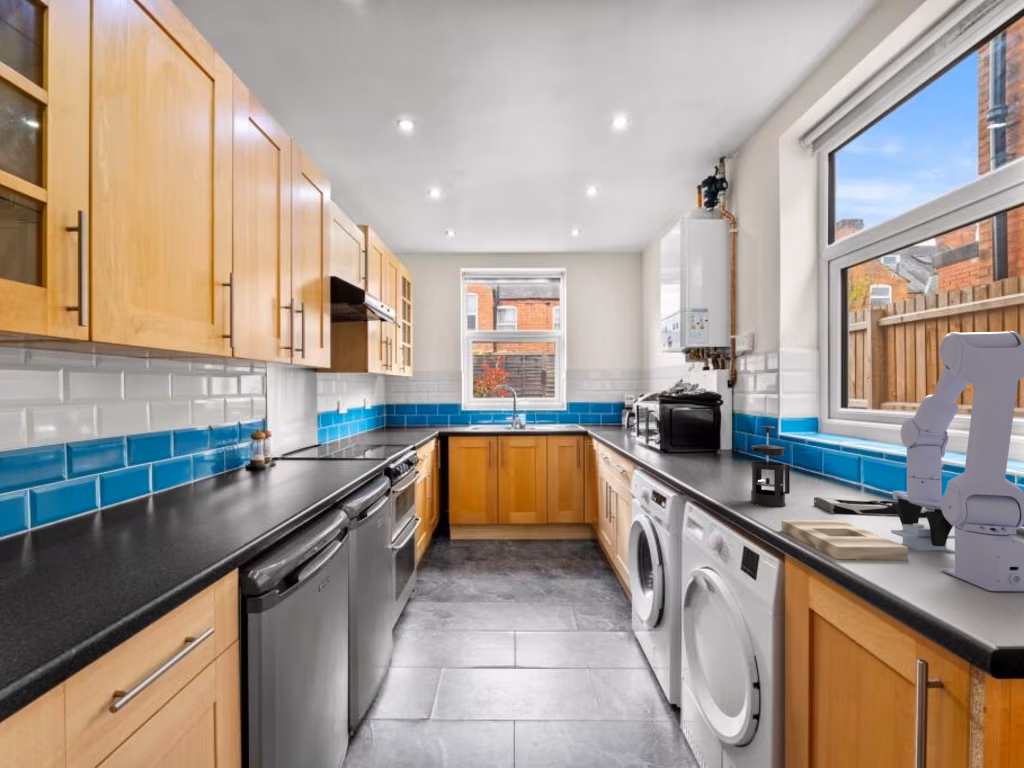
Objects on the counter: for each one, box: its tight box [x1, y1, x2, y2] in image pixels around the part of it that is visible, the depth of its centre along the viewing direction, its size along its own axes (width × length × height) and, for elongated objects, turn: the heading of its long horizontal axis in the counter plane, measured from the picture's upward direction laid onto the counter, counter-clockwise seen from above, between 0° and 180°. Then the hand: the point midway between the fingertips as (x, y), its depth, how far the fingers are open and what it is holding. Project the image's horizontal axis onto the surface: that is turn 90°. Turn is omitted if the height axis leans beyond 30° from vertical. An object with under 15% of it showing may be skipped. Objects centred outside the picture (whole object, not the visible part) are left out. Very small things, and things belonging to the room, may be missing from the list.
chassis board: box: [781, 519, 909, 561], centre depth 106 cm, size 20×14×2 cm
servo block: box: [890, 522, 955, 552], centre depth 104 cm, size 4×11×5 cm, turn 90°
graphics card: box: [813, 496, 928, 518], centre depth 135 cm, size 10×3×25 cm
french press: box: [749, 425, 791, 508], centre depth 144 cm, size 12×9×23 cm
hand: (924, 540), depth 104 cm, fingers open, 6 cm apart
